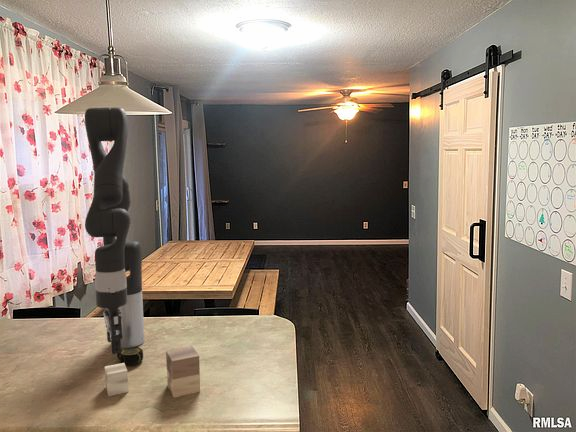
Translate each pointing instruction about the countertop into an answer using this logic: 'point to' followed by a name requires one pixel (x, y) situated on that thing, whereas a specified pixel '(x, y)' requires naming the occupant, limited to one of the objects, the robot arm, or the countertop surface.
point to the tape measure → (130, 356)
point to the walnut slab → (182, 362)
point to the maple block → (116, 379)
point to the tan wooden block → (183, 385)
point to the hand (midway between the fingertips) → (114, 347)
